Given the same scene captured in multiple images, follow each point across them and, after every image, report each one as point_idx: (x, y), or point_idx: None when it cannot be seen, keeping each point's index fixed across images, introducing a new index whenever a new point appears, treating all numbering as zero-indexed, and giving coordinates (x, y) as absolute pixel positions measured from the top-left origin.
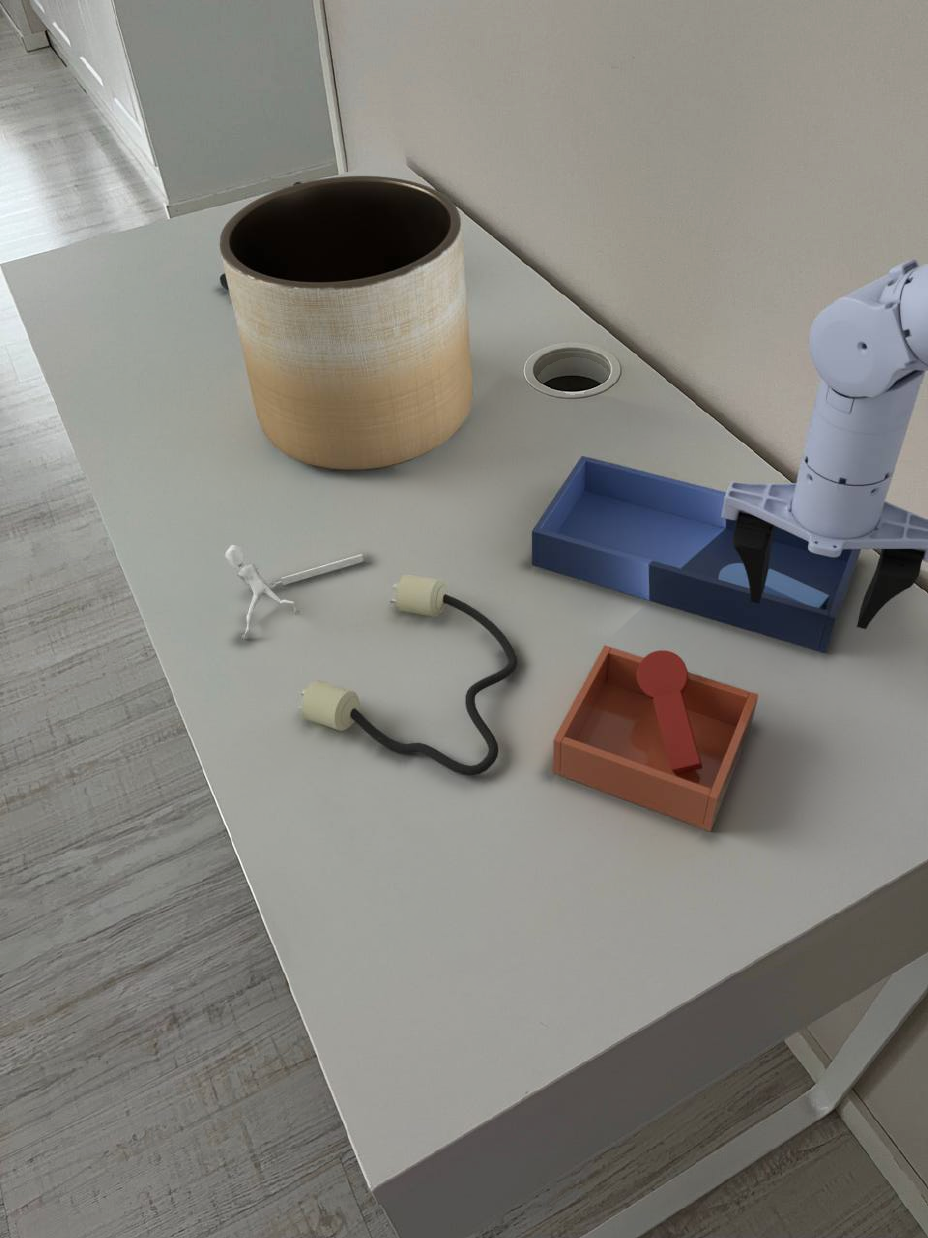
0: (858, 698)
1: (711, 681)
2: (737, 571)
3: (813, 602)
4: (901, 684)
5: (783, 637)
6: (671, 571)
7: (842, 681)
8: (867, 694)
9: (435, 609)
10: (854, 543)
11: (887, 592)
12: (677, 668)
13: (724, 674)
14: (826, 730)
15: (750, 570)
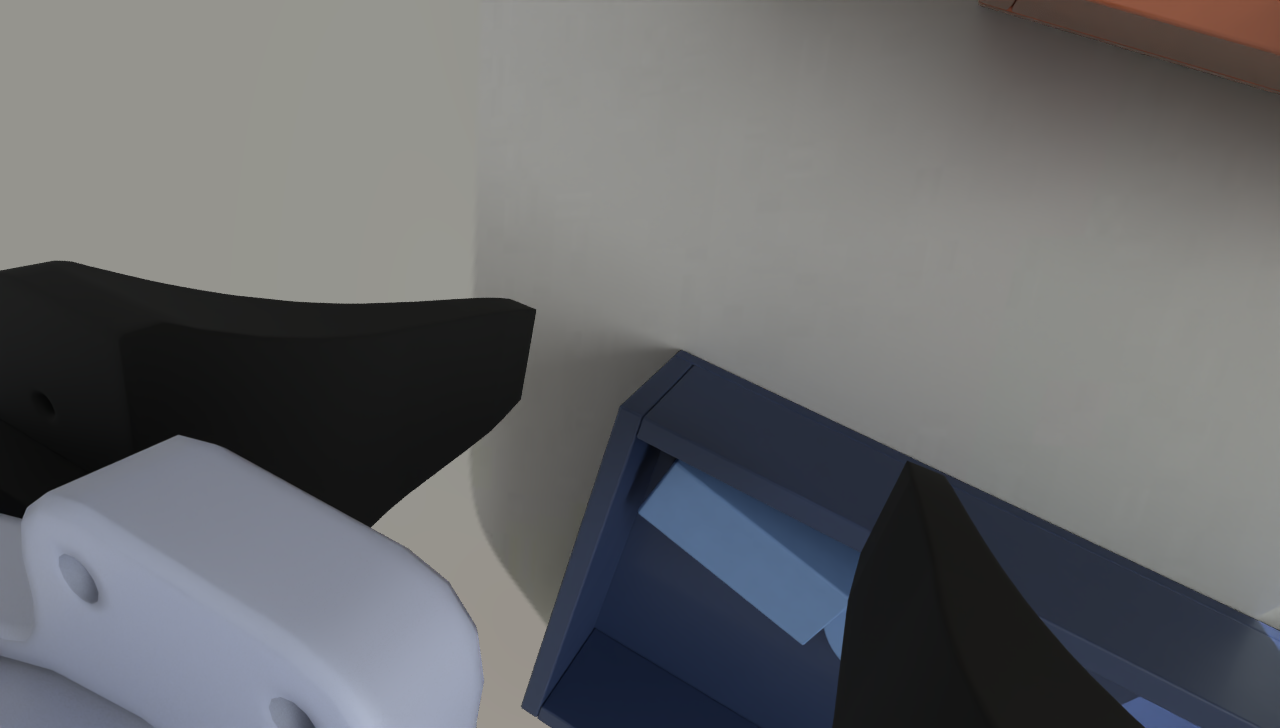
0: (611, 184)
1: (1250, 21)
2: None
3: (685, 491)
4: (509, 241)
5: (791, 407)
6: (1250, 721)
7: (647, 247)
8: (588, 201)
9: None
10: (19, 591)
11: (265, 309)
12: None
13: (1023, 267)
14: (711, 41)
15: (1012, 609)
